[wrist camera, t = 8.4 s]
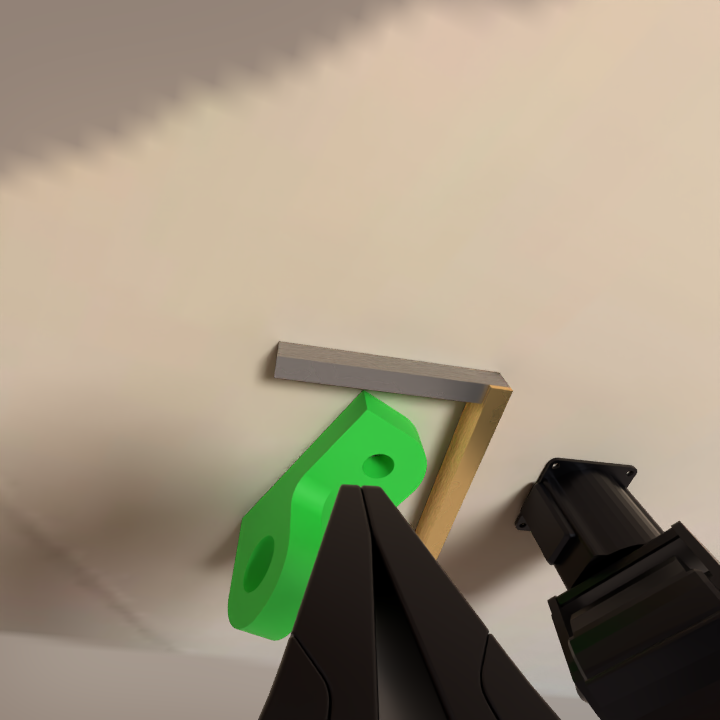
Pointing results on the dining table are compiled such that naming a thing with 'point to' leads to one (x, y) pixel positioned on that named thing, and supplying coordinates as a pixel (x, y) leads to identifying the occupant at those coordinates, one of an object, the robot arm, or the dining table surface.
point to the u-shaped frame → (421, 379)
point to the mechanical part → (316, 510)
